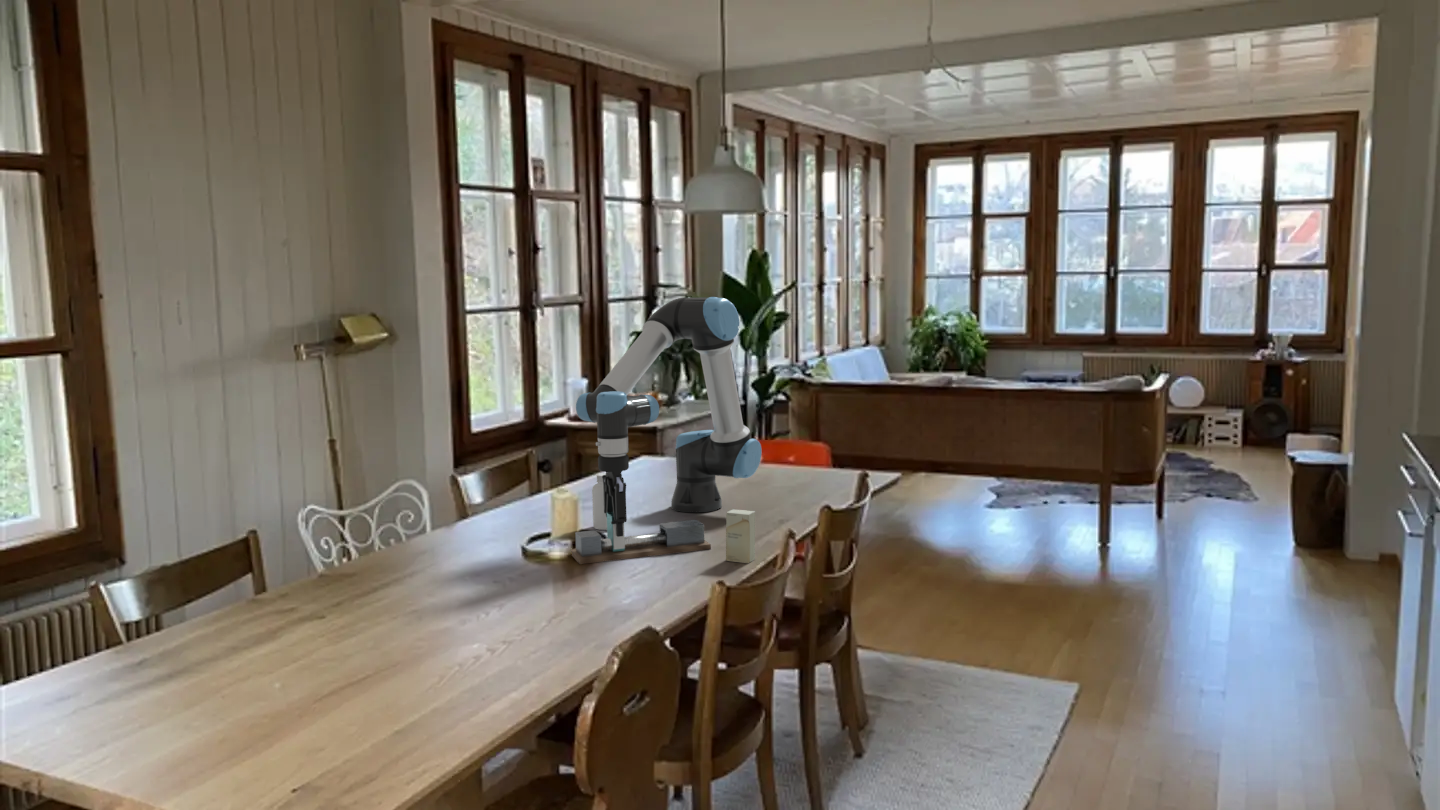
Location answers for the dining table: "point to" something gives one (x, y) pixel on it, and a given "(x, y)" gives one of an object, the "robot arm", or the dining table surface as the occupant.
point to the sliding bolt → (630, 538)
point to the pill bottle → (599, 504)
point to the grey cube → (588, 543)
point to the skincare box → (740, 536)
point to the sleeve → (683, 532)
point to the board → (639, 552)
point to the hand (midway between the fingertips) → (616, 545)
